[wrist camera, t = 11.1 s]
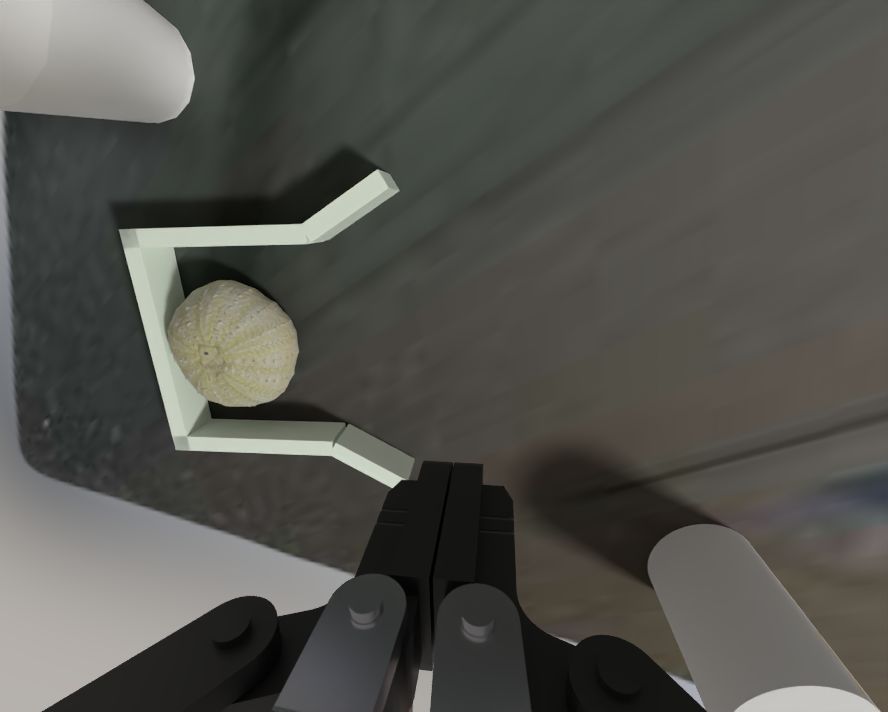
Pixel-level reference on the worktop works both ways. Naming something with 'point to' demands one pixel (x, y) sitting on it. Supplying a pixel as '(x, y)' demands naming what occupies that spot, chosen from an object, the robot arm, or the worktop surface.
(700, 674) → the cup
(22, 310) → the worktop surface
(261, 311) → the sea urchin shell
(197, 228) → the flared u-shaped rail
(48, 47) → the foam cup
